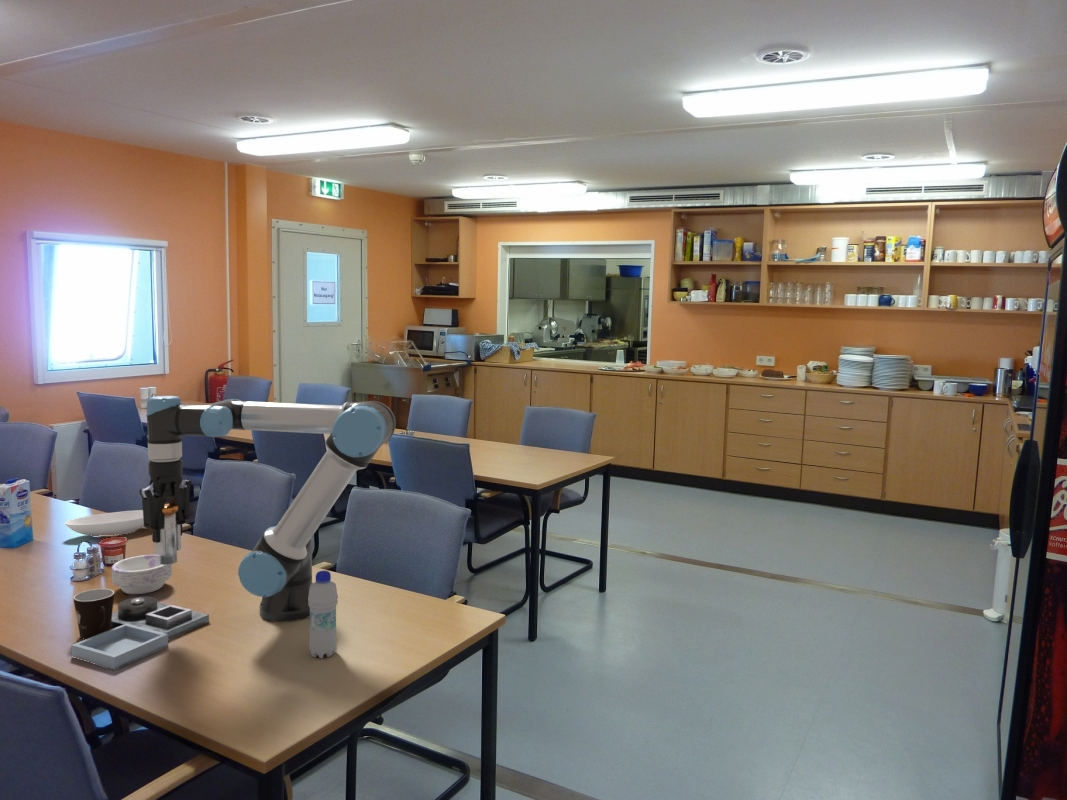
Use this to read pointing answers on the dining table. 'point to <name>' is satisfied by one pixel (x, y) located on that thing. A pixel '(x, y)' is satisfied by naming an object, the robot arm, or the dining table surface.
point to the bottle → (322, 615)
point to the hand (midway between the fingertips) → (168, 551)
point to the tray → (120, 646)
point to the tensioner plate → (157, 616)
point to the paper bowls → (140, 574)
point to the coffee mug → (94, 611)
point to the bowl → (108, 523)
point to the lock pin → (169, 535)
